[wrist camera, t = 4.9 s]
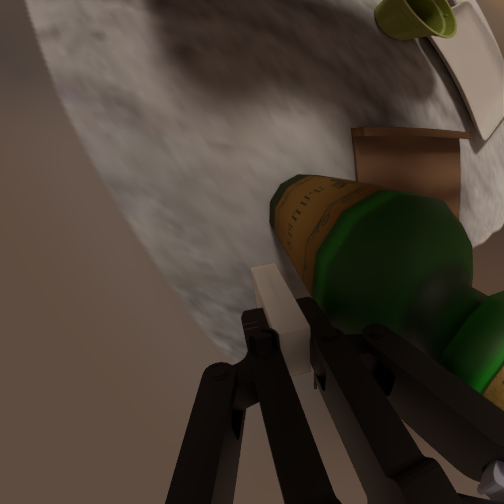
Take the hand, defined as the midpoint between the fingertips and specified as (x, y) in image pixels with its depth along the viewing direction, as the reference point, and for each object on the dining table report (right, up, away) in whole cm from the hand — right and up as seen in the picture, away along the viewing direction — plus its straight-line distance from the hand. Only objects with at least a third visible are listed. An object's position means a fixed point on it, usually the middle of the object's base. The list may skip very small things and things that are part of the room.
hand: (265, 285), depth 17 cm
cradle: (+22, +10, +15) cm, 28 cm away
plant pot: (+18, +33, +6) cm, 38 cm away
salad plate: (+36, +34, +9) cm, 50 cm away
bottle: (+5, +7, +14) cm, 16 cm away
